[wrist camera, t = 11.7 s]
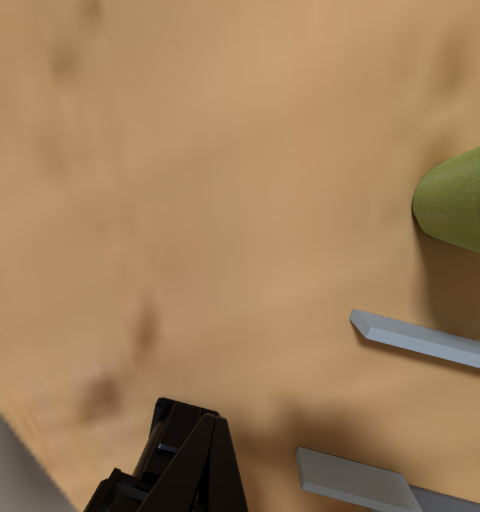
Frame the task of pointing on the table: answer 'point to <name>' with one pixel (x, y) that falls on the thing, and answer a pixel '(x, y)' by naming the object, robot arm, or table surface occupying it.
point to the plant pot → (451, 201)
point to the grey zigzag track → (372, 478)
